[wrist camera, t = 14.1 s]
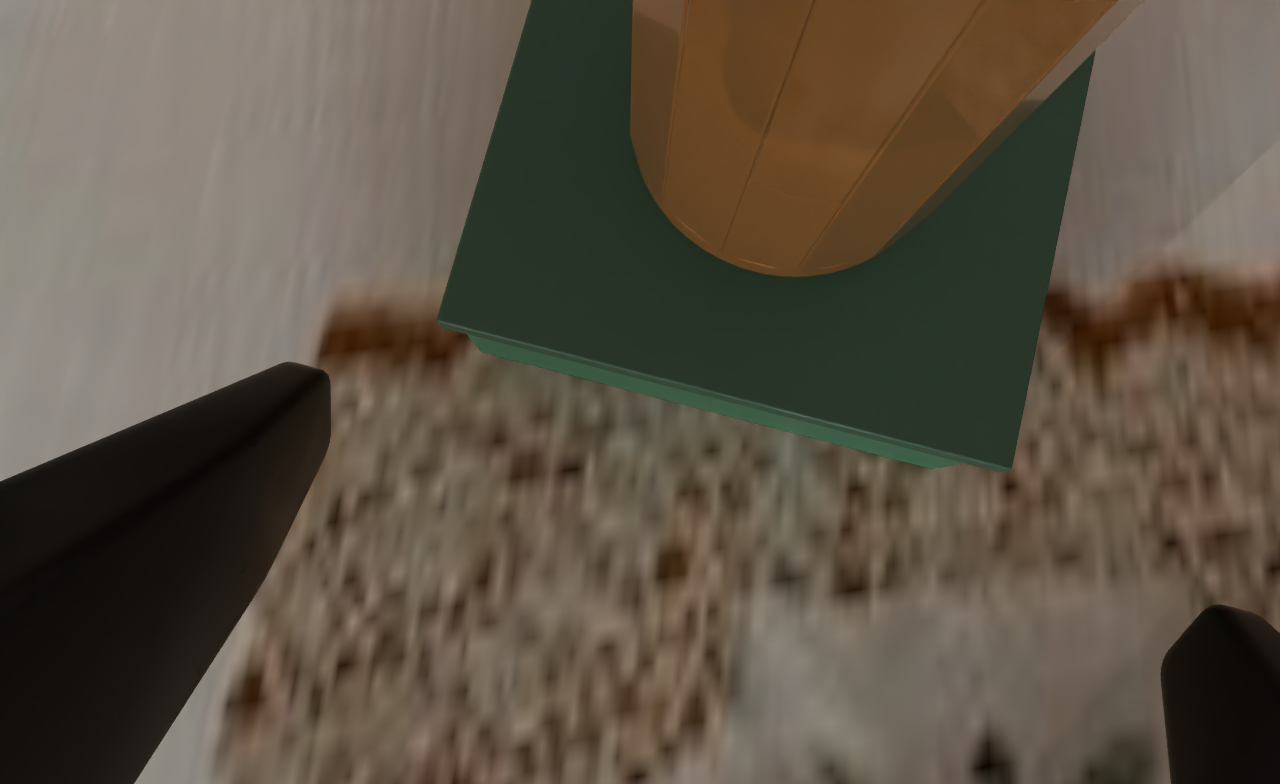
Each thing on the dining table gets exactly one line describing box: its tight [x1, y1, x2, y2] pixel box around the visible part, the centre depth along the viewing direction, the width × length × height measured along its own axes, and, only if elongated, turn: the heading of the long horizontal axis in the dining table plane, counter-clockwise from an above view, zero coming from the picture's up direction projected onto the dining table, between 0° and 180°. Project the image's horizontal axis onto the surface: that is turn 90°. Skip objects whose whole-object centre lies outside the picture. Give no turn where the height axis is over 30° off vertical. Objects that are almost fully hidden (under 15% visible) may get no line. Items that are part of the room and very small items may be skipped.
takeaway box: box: [437, 0, 1096, 472], centre depth 20 cm, size 11×11×4 cm
